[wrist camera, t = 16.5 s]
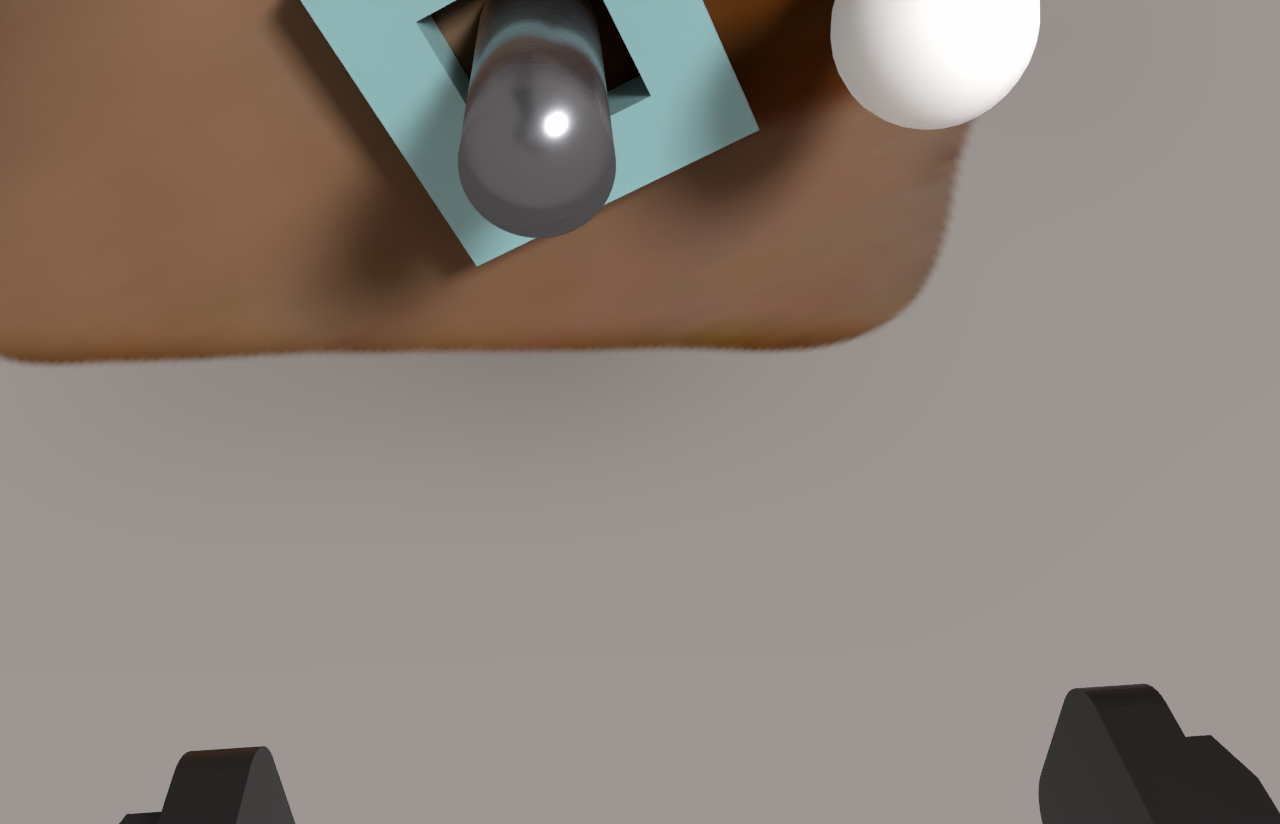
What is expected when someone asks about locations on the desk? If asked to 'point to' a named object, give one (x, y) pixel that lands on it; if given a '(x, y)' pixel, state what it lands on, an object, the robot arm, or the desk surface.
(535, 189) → the brushed steel cylinder
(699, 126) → the frame
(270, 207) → the desk surface
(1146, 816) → the robot arm
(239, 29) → the desk surface
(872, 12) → the lightbulb
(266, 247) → the desk surface
